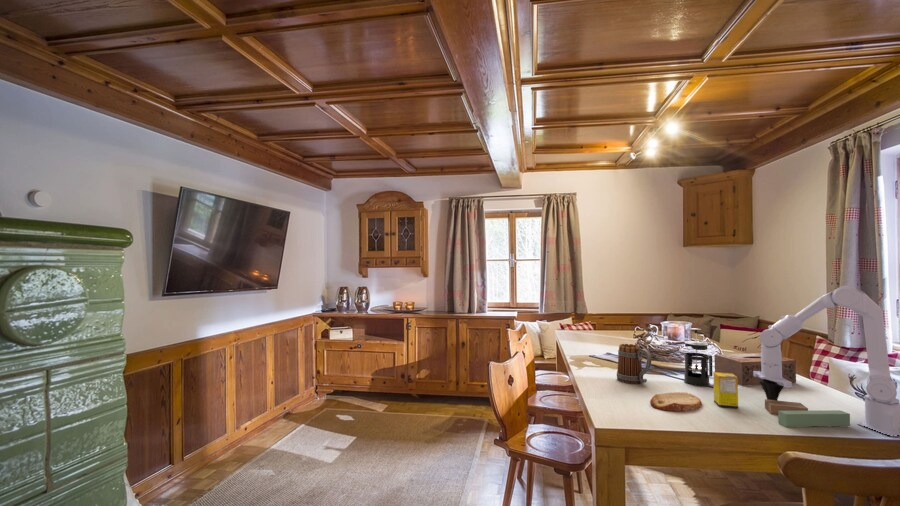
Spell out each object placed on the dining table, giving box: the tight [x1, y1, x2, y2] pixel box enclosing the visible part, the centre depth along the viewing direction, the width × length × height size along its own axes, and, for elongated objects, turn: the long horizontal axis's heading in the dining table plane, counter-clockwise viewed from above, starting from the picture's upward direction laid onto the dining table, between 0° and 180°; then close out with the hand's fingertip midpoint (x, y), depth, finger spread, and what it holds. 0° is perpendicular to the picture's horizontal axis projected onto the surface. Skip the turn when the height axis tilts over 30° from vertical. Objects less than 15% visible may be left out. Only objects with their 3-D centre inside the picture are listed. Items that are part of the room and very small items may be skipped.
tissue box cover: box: [713, 352, 797, 387], centre depth 179 cm, size 26×14×10 cm, turn 98°
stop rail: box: [777, 409, 851, 428], centre depth 128 cm, size 3×20×4 cm, turn 91°
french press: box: [683, 327, 714, 387], centre depth 174 cm, size 12×9×23 cm
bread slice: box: [649, 391, 703, 413], centre depth 148 cm, size 18×18×4 cm
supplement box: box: [712, 371, 739, 409], centre depth 147 cm, size 6×6×11 cm
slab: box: [764, 398, 809, 416], centre depth 139 cm, size 6×10×4 cm, turn 69°
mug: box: [616, 343, 652, 385], centre depth 175 cm, size 16×11×15 cm
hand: (772, 402), depth 145 cm, fingers closed
